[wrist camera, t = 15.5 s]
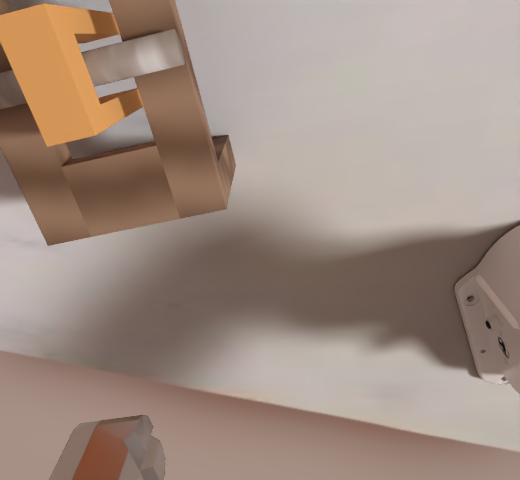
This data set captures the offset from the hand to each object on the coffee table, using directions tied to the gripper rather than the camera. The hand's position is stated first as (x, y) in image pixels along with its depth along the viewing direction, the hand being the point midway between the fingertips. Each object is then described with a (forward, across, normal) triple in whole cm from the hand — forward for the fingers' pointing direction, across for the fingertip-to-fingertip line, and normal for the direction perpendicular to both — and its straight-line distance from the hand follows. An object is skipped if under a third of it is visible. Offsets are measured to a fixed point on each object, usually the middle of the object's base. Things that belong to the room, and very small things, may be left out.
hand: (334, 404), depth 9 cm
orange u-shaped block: (+29, +12, -8) cm, 32 cm away
